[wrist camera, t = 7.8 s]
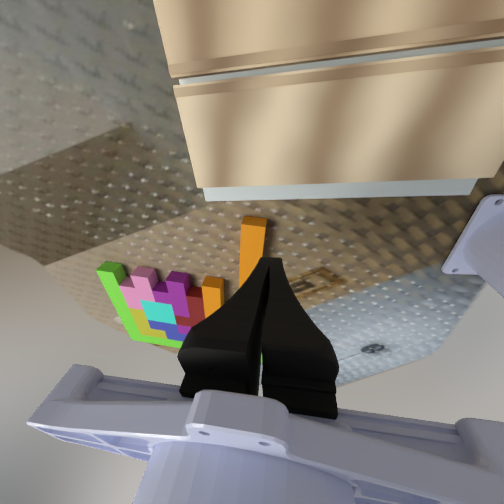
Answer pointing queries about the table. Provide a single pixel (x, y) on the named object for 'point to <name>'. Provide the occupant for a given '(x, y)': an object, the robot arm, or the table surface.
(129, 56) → the table surface
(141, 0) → the table surface
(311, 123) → the loose board
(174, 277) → the toy blocks
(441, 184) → the underlay mat
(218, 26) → the laid board
